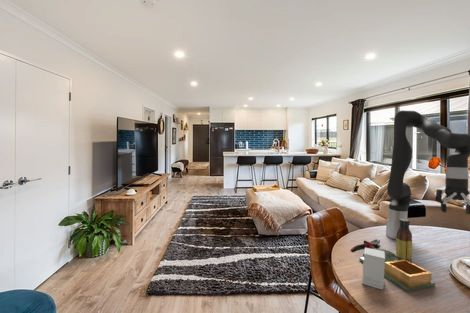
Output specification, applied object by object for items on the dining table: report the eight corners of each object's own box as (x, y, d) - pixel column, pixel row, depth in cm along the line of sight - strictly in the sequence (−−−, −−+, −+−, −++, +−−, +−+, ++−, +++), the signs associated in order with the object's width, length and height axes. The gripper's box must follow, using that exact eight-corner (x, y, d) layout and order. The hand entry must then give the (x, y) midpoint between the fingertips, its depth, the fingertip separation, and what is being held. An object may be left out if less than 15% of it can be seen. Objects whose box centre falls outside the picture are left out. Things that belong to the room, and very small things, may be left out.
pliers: (366, 253, 116) (386, 240, 128) (349, 247, 123) (370, 235, 135) (366, 259, 116) (386, 246, 129) (349, 252, 123) (370, 240, 136)
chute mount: (359, 260, 113) (359, 249, 112) (383, 257, 116) (383, 246, 116) (407, 291, 90) (407, 277, 89) (434, 286, 93) (435, 273, 93)
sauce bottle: (408, 257, 116) (411, 218, 115) (413, 263, 110) (416, 222, 109) (393, 255, 118) (395, 216, 117) (397, 261, 113) (399, 220, 111)
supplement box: (383, 290, 90) (385, 258, 90) (361, 284, 94) (363, 253, 93) (383, 280, 97) (385, 251, 96) (363, 275, 100) (364, 246, 100)
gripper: (471, 177, 107) (471, 212, 107) (433, 176, 112) (432, 209, 112) (482, 178, 100) (481, 216, 100) (441, 177, 105) (440, 213, 105)
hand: (455, 213), depth 106 cm, fingers open, 8 cm apart
